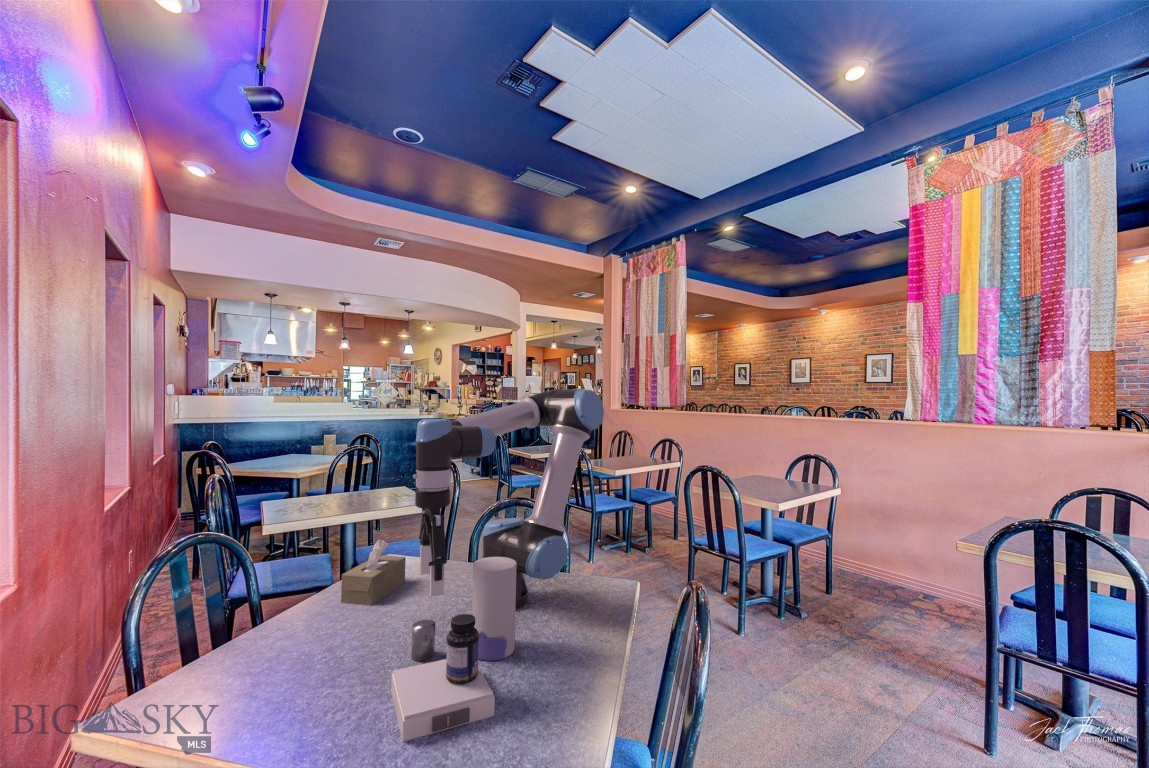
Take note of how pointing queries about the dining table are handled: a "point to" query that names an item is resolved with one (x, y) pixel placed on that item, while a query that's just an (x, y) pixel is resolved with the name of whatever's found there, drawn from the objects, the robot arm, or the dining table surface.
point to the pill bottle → (462, 650)
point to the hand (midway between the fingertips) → (431, 583)
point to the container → (494, 606)
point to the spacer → (423, 640)
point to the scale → (437, 700)
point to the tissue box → (373, 577)
